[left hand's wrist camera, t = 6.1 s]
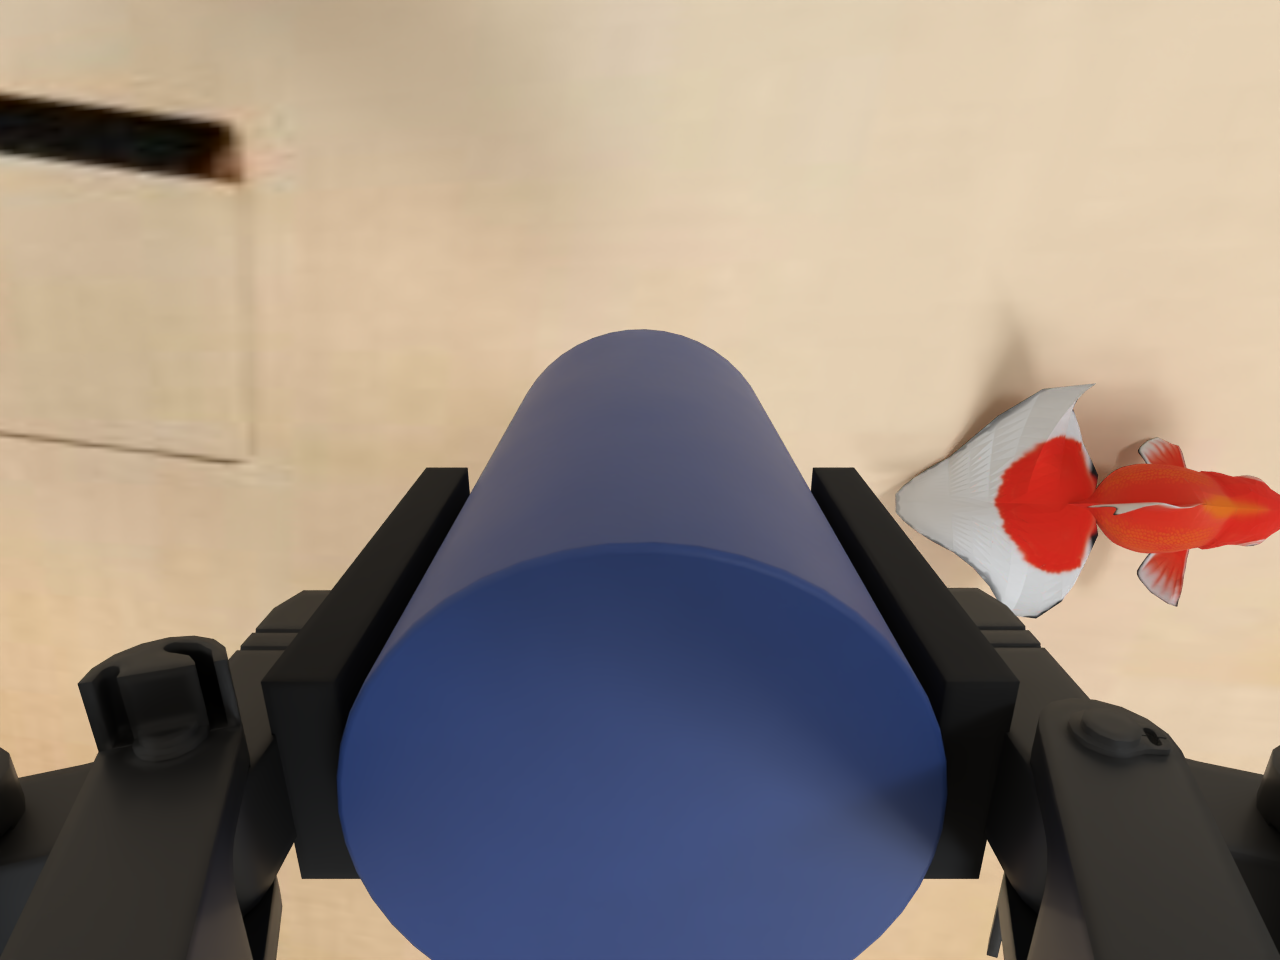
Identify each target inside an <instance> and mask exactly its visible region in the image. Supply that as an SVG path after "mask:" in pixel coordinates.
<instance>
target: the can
mask: <svg viewBox="0 0 1280 960" xmlns="http://www.w3.org/2000/svg"><path fill="white" fill-rule="evenodd" d="M337 796H338V813H339V817H340V822H341V826H342V831H343V835H344V840H345V844H346V846H347V849H348V851H349V854H350V856H351V859H352V861H353V864H354V867H355V869H356V872H357V873H358V875H359V877H360V879H361V880H362V882H363V884H364V886H365V887H366V889H367V891H368V892H369V894H370V896H371V898H372V899H373V901H374V902H375V903H376V904H377V906H378V907H379V908H380V910H381V911H382V912H383V913H384V915H385V916H386V917H387V919H388V920H389V921H390V922H391V924H392V925H393V926H394V927H395V928H396V929H397V930H398V931H399V932H400V933H401V934H402V935H403V936H404V937H405V938H406V939H407V940H408V941H409V942H410V943H411V944H412V945H413V946H415V947H416V948H417V949H418V950H420V951H421V952H422V953H423V954H425V955H426V956H427V957H429V958H430V959H431V960H853V959H855V958H856V957H857V956H858V955H859V954H861V953H862V952H863V951H864V950H865V949H866V948H868V947H869V946H870V945H871V944H872V943H873V942H874V941H876V940H877V939H878V938H879V937H880V936H881V935H882V934H883V933H884V932H885V931H886V930H887V928H888V927H889V926H890V925H891V924H892V923H893V922H894V921H895V919H896V918H897V917H898V916H899V915H900V914H901V913H902V911H903V910H904V909H905V907H906V906H907V904H908V903H909V901H910V900H911V898H912V897H913V895H914V894H915V892H916V891H917V889H918V888H919V887H920V885H921V882H922V880H923V878H924V876H925V874H926V872H927V870H928V868H929V866H930V864H931V862H932V860H933V858H934V855H935V851H936V848H937V845H938V842H939V839H940V835H941V832H942V829H943V822H944V815H945V808H946V801H947V762H946V756H945V751H944V746H943V741H942V736H941V731H940V727H939V725H938V722H937V719H936V717H935V714H934V711H933V709H932V706H931V704H930V701H929V698H928V696H927V694H926V693H925V691H924V689H923V687H922V686H921V684H920V682H919V680H918V679H917V677H916V675H915V673H914V672H913V670H912V668H911V666H910V665H909V663H908V661H907V659H906V658H905V656H904V654H903V652H902V651H901V649H900V647H899V645H898V644H897V642H896V640H895V638H894V636H893V635H892V633H891V631H890V629H889V628H888V626H887V624H886V622H885V621H884V619H883V617H882V615H881V614H880V612H879V610H878V608H877V607H876V605H875V603H874V601H873V600H872V598H871V596H870V594H869V593H868V591H867V589H866V587H865V586H864V584H863V582H862V580H861V579H860V577H859V575H858V573H857V572H856V570H855V568H854V566H853V565H852V563H851V561H850V559H849V558H848V556H847V554H846V552H845V551H844V549H843V547H842V545H841V543H840V542H839V540H838V538H837V536H836V535H835V533H834V531H833V529H832V528H831V526H830V524H829V522H828V521H827V519H826V517H825V515H824V514H823V512H822V510H821V508H820V507H819V505H818V503H817V501H816V500H815V498H814V496H813V494H812V493H811V491H810V489H809V487H808V486H807V484H806V482H805V480H804V479H803V477H802V475H801V473H800V472H799V470H798V468H797V466H796V465H795V463H794V461H793V459H792V458H791V456H790V454H789V452H788V451H787V449H786V447H785V445H784V443H783V442H782V440H781V438H780V436H779V435H778V433H777V431H776V429H775V428H774V426H773V424H772V422H771V421H770V419H769V417H768V415H767V414H766V412H765V410H764V408H763V407H762V405H761V403H760V401H759V400H758V398H757V396H756V394H755V393H754V391H753V389H752V388H751V386H750V385H749V383H748V382H747V381H746V379H745V378H744V377H743V376H742V374H741V373H740V372H739V371H738V370H737V369H736V368H735V367H734V366H733V365H732V364H731V363H730V362H729V361H728V360H726V359H725V358H724V357H722V356H721V355H719V354H718V353H717V352H715V351H714V350H712V349H710V348H709V347H707V346H705V345H703V344H701V343H699V342H697V341H695V340H692V339H690V338H687V337H684V336H682V335H678V334H674V333H669V332H665V331H657V330H647V329H643V330H625V331H618V332H612V333H608V334H605V335H601V336H598V337H595V338H592V339H590V340H588V341H585V342H583V343H581V344H579V345H577V346H575V347H574V348H572V349H570V350H569V351H567V352H566V353H564V354H562V355H561V356H560V357H559V358H557V359H556V360H555V361H554V362H553V363H552V364H550V365H549V366H548V367H547V368H546V369H545V370H544V372H543V373H542V374H541V375H540V376H539V377H538V378H537V379H536V381H535V382H534V384H533V385H532V387H531V388H530V390H529V391H528V393H527V394H526V396H525V398H524V400H523V401H522V403H521V405H520V407H519V408H518V410H517V412H516V414H515V416H514V417H513V419H512V421H511V423H510V424H509V426H508V428H507V430H506V432H505V433H504V435H503V437H502V439H501V440H500V442H499V444H498V446H497V447H496V449H495V451H494V453H493V455H492V456H491V458H490V460H489V462H488V463H487V465H486V467H485V469H484V470H483V472H482V474H481V476H480V478H479V479H478V481H477V483H476V485H475V486H474V488H473V490H472V492H471V493H470V495H469V497H468V499H467V501H466V502H465V504H464V506H463V508H462V509H461V511H460V513H459V515H458V517H457V518H456V520H455V522H454V524H453V525H452V527H451V529H450V531H449V532H448V534H447V536H446V538H445V540H444V541H443V543H442V545H441V547H440V548H439V550H438V552H437V554H436V555H435V557H434V559H433V561H432V563H431V564H430V566H429V568H428V570H427V571H426V573H425V575H424V577H423V578H422V580H421V582H420V584H419V586H418V587H417V589H416V591H415V593H414V594H413V596H412V598H411V600H410V602H409V603H408V605H407V607H406V609H405V610H404V612H403V614H402V616H401V617H400V619H399V621H398V623H397V625H396V626H395V628H394V630H393V632H392V633H391V635H390V637H389V639H388V640H387V642H386V644H385V646H384V648H383V649H382V651H381V653H380V655H379V656H378V658H377V660H376V662H375V663H374V665H373V667H372V669H371V671H370V672H369V674H368V676H367V678H366V679H365V681H364V683H363V685H362V687H361V690H360V692H359V694H358V696H357V698H356V700H355V702H354V704H353V706H352V708H351V710H350V712H349V716H348V719H347V723H346V726H345V729H344V733H343V736H342V740H341V743H340V750H339V759H338V767H337Z"/></svg>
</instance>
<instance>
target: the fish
mask: <svg viewBox="0 0 1280 960" xmlns="http://www.w3.org/2000/svg"><path fill="white" fill-rule="evenodd" d="M1093 385H1095V384H1087V385H1077V386H1067V387H1058V388H1048V389H1042V390H1041V391H1039V392H1037V393H1036V394H1034V395H1032V396H1031V397H1029V398H1027V399H1026V400H1024V401H1022V402H1020V403H1019V404H1017V405H1015V406H1014V407H1012V408H1010V409H1009V410H1007V411H1005V412H1004V413H1002V414H1000V415H999V416H997V417H996V418H995V419H994V420H993V421H992V422H990V423H989V424H988V425H987V426H986V427H984V428H983V429H982V430H981V431H980V432H978V433H977V434H976V435H975V436H974V437H973V438H971V439H970V440H969V441H968V442H967V443H965V444H964V445H963V446H962V447H961V448H959V449H958V450H957V451H956V452H955V453H953V454H952V455H951V456H950V457H949V458H947V459H945V460H943V461H941V462H939V463H937V464H935V465H934V466H932V467H930V468H928V469H927V470H925V471H924V472H922V473H921V474H919V475H918V476H916V477H914V478H913V479H912V480H911V481H909V482H908V483H907V484H905V485H904V486H903V487H902V488H901V489H900V490H899V491H898V492H897V493H896V513H897V514H898V515H899V516H900V517H901V518H902V520H903V521H904V522H906V523H907V524H908V525H909V526H911V527H912V528H913V529H914V530H916V531H917V532H919V533H920V534H922V535H923V536H925V537H927V538H928V539H930V540H931V541H933V542H935V543H937V544H939V545H940V546H942V547H944V548H946V549H948V550H950V551H952V552H954V553H955V554H956V555H958V556H959V557H960V558H961V559H963V560H964V561H965V562H967V563H968V564H969V565H970V566H972V567H973V568H974V569H975V570H976V572H977V573H978V574H979V575H980V576H981V577H982V578H983V579H984V581H985V582H986V583H987V584H988V585H989V586H990V588H991V590H992V592H993V593H994V595H995V597H996V599H997V600H998V601H1000V602H1002V603H1003V604H1005V605H1007V606H1008V607H1009V608H1010V610H1011V611H1012V612H1013V613H1014V614H1015V615H1016V616H1021V617H1029V618H1037V617H1039V616H1040V615H1042V614H1043V613H1045V612H1046V611H1048V610H1049V609H1051V608H1052V607H1054V606H1055V605H1057V604H1058V603H1060V602H1061V601H1062V600H1063V599H1064V597H1065V596H1066V595H1067V593H1068V592H1069V591H1070V589H1071V588H1072V587H1073V585H1074V584H1075V582H1076V580H1077V578H1078V576H1079V574H1080V572H1081V570H1082V568H1083V566H1084V564H1085V562H1086V560H1087V558H1088V556H1089V554H1090V551H1091V549H1092V547H1093V545H1094V543H1095V541H1096V538H1097V536H1098V531H1097V525H1098V526H1099V527H1100V529H1101V530H1102V531H1103V533H1104V534H1105V535H1106V536H1107V537H1108V538H1109V539H1110V540H1111V541H1112V542H1113V543H1115V544H1117V545H1119V546H1121V547H1124V548H1126V549H1129V550H1132V551H1135V552H1140V553H1149V555H1148V556H1147V557H1146V558H1145V560H1144V561H1143V562H1142V564H1141V565H1140V567H1139V568H1138V570H1137V575H1138V577H1139V579H1140V580H1141V582H1142V583H1143V584H1144V585H1145V586H1146V587H1147V589H1148V590H1149V591H1150V592H1151V593H1152V594H1154V595H1156V596H1157V597H1159V598H1160V599H1162V600H1163V601H1165V602H1166V603H1168V604H1171V605H1173V606H1177V605H1178V600H1179V597H1180V595H1181V591H1182V586H1183V579H1184V573H1185V569H1186V561H1187V556H1188V552H1189V549H1192V548H1200V549H1210V548H1215V547H1219V546H1223V545H1241V546H1254V545H1257V544H1260V543H1262V542H1263V541H1264V540H1265V539H1266V538H1267V537H1269V536H1270V535H1271V534H1273V533H1275V532H1276V531H1278V530H1280V495H1279V494H1278V493H1276V492H1275V491H1273V490H1271V489H1270V488H1269V487H1268V486H1267V485H1266V484H1265V483H1264V482H1263V481H1262V480H1261V479H1259V478H1257V477H1253V476H1247V475H1246V476H1236V477H1232V476H1228V475H1225V474H1221V473H1217V472H1206V471H1201V472H1197V471H1194V470H1190V469H1187V468H1186V465H1185V461H1184V457H1183V454H1182V451H1181V449H1180V447H1179V446H1177V445H1174V444H1171V443H1169V442H1167V441H1165V440H1163V439H1160V438H1158V437H1156V438H1154V439H1151V440H1148V441H1147V442H1145V443H1144V444H1143V445H1142V446H1141V447H1140V448H1139V450H1138V453H1139V454H1140V455H1141V456H1142V458H1143V459H1144V461H1145V462H1146V464H1135V465H1130V466H1125V467H1122V468H1119V469H1117V470H1115V471H1114V472H1112V473H1111V474H1110V475H1109V476H1107V477H1106V478H1105V479H1104V480H1103V481H1102V482H1101V483H1100V484H1099V486H1098V487H1097V488H1096V485H1097V479H1098V474H1097V472H1096V470H1095V467H1094V465H1093V463H1092V461H1091V459H1090V456H1089V454H1088V452H1087V450H1086V448H1085V446H1084V444H1083V441H1082V436H1081V432H1080V428H1079V425H1078V422H1077V419H1076V416H1075V413H1074V411H1073V407H1074V405H1075V403H1076V402H1077V400H1078V398H1079V397H1080V396H1081V395H1082V394H1083V393H1084V392H1085V391H1086V390H1088V389H1089V388H1090V387H1092V386H1093ZM1096 523H1097V525H1096Z"/></svg>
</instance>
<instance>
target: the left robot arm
mask: <svg viewBox="0 0 1280 960" xmlns="http://www.w3.org/2000/svg"><path fill="white" fill-rule="evenodd" d="M811 493H812V494H813V496H814V498H815V500H816V501H817V503H818V505H819V507H820V508H821V510H822V512H823V514H824V515H825V517H826V519H827V521H828V522H829V524H830V526H831V528H832V529H833V531H834V533H835V535H836V536H837V538H838V540H839V542H840V543H841V545H842V547H843V549H844V551H845V552H846V554H847V556H848V558H849V559H850V561H851V563H852V565H853V566H854V568H855V570H856V572H857V573H858V575H859V577H860V579H861V580H862V582H863V584H864V586H865V587H866V589H867V591H868V593H869V594H870V596H871V598H872V600H873V601H874V603H875V605H876V607H877V608H878V610H879V612H880V614H881V615H882V617H883V619H884V621H885V622H886V624H887V626H888V628H889V629H890V631H891V633H892V635H893V636H894V638H895V640H896V642H897V644H898V645H899V647H900V649H901V651H902V652H903V654H904V656H905V658H906V659H907V661H908V663H909V665H910V666H911V668H912V670H913V672H914V673H915V675H916V677H917V679H918V680H919V682H920V684H921V686H922V687H923V689H924V691H925V693H926V694H927V696H928V698H929V701H930V704H931V706H932V709H933V711H934V714H935V717H936V719H937V722H938V725H939V727H940V731H941V736H942V741H943V746H944V751H945V756H946V762H947V801H946V808H945V815H944V822H943V829H942V832H941V835H940V839H939V842H938V845H937V848H936V851H935V855H934V858H933V860H932V862H931V864H930V866H929V868H928V870H927V872H926V874H925V876H924V878H923V879H979V875H980V870H981V865H982V861H983V856H984V851H985V846H986V842H987V840H988V842H989V844H990V846H991V848H992V849H993V851H994V853H995V855H996V857H997V859H998V861H999V862H1000V864H1001V866H1002V868H1003V870H1004V875H1003V879H1002V884H1001V888H1000V893H999V897H998V902H997V906H996V911H995V915H994V919H993V924H992V928H991V933H990V937H989V943H988V950H987V955H989V956H992V957H996V958H997V957H998V953H999V949H1000V944H1001V941H1002V945H1003V954H1004V960H1280V745H1279V746H1278V747H1276V748H1275V749H1273V751H1272V754H1271V756H1270V759H1269V762H1268V765H1267V767H1266V770H1265V773H1264V775H1262V774H1257V773H1252V772H1247V771H1242V770H1237V769H1232V768H1227V767H1223V766H1218V765H1213V764H1208V763H1203V762H1198V761H1194V760H1190V759H1187V758H1185V757H1184V755H1183V753H1182V751H1181V750H1180V748H1179V747H1178V746H1177V744H1176V743H1175V742H1174V741H1173V739H1172V738H1171V737H1170V736H1169V734H1167V733H1166V732H1165V731H1163V730H1162V729H1161V728H1159V727H1158V726H1156V725H1155V724H1154V723H1152V722H1151V721H1149V720H1148V719H1146V718H1144V717H1142V716H1140V715H1138V714H1136V713H1133V712H1131V711H1129V710H1127V709H1125V708H1123V707H1120V706H1116V705H1112V704H1109V703H1105V702H1101V701H1097V700H1090V699H1089V697H1088V696H1087V695H1086V694H1085V693H1084V692H1083V691H1082V690H1081V688H1080V687H1079V686H1078V685H1077V684H1076V683H1075V682H1074V681H1073V679H1072V678H1071V677H1070V676H1069V675H1068V674H1067V673H1066V672H1065V670H1064V669H1063V668H1062V667H1061V666H1060V665H1059V664H1058V663H1057V661H1056V660H1055V659H1054V658H1053V657H1052V656H1051V655H1050V654H1049V652H1048V651H1047V650H1046V649H1045V648H1041V646H1040V642H1039V641H1038V640H1037V639H1036V638H1035V637H1034V635H1033V634H1032V633H1031V632H1030V631H1029V630H1025V625H1024V624H1023V623H1022V622H1021V621H1020V620H1019V619H1018V617H1017V616H1016V615H1015V614H1014V613H1013V612H1012V611H1011V610H1010V608H1009V607H1008V606H1007V605H1005V604H1003V603H1002V602H1000V601H998V600H997V599H995V598H993V597H992V596H990V595H988V594H987V593H985V592H983V591H982V590H980V589H978V588H947V587H946V586H945V584H944V583H943V582H942V580H941V579H940V578H939V577H938V575H937V574H936V573H935V571H934V570H933V569H932V568H931V566H930V565H929V564H928V562H927V561H926V560H925V559H924V557H923V556H922V555H921V553H920V552H919V551H918V550H917V548H916V547H915V546H914V544H913V543H912V542H911V540H910V539H909V538H908V537H907V535H906V534H905V533H904V531H903V530H902V529H901V528H900V526H899V525H898V524H897V522H896V521H895V520H894V519H893V517H892V516H891V515H890V513H889V512H888V511H887V510H886V508H885V507H884V506H883V504H882V503H881V502H880V501H879V499H878V498H877V497H876V495H875V494H874V493H873V492H872V490H871V489H870V488H869V486H868V485H867V484H866V482H865V481H864V480H863V479H862V477H861V476H860V475H859V473H858V472H857V471H856V470H855V468H813V473H812V485H811ZM469 495H470V490H469V479H468V468H426V469H425V470H424V472H423V473H422V474H421V475H420V477H419V478H418V479H417V481H416V482H415V483H414V484H413V486H412V487H411V488H410V490H409V491H408V492H407V493H406V495H405V496H404V497H403V499H402V500H401V501H400V502H399V504H398V505H397V506H396V508H395V509H394V510H393V512H392V513H391V514H390V515H389V517H388V518H387V519H386V521H385V522H384V523H383V524H382V526H381V527H380V528H379V530H378V531H377V532H376V533H375V535H374V536H373V537H372V539H371V540H370V541H369V542H368V544H367V545H366V546H365V548H364V549H363V550H362V551H361V553H360V554H359V555H358V557H357V558H356V559H355V561H354V562H353V563H352V564H351V566H350V567H349V568H348V570H347V571H346V572H345V573H344V575H343V576H342V577H341V579H340V580H339V581H338V582H337V584H336V585H335V586H334V588H333V589H332V590H303V591H302V592H300V593H298V594H297V595H295V596H293V597H292V598H290V599H288V600H287V601H285V602H283V603H282V604H280V605H278V606H277V607H275V608H274V609H273V610H272V611H271V612H270V613H269V614H268V616H267V617H266V618H265V619H264V620H263V621H262V622H261V624H260V625H259V626H258V627H257V628H256V633H252V634H251V635H250V636H249V637H248V638H247V639H246V641H245V642H244V643H243V644H242V645H241V649H240V650H237V651H236V652H235V653H234V654H233V655H232V656H231V658H230V659H229V660H228V657H227V653H226V648H225V647H224V646H223V645H221V644H220V643H219V642H217V641H216V640H214V639H210V638H205V637H199V636H182V637H169V638H164V639H160V640H156V641H152V642H147V643H143V644H140V645H137V646H135V647H132V648H130V649H127V650H125V651H122V652H120V653H117V654H115V655H113V656H111V657H110V658H108V659H107V660H105V661H103V662H102V663H100V664H99V665H97V666H95V667H94V668H92V669H91V670H90V671H89V672H88V673H87V674H86V675H85V676H84V678H83V679H82V680H81V681H80V682H79V683H78V687H79V690H80V693H81V697H82V700H83V703H84V706H85V709H86V713H87V716H88V719H89V722H90V725H91V729H92V732H93V735H94V738H95V742H96V745H97V748H98V751H99V752H98V754H97V756H96V758H95V761H94V762H92V763H88V764H84V765H79V766H74V767H70V768H65V769H60V770H55V771H50V772H45V773H40V774H35V775H31V776H26V777H21V778H18V776H17V774H16V771H15V768H14V765H13V763H12V760H11V757H10V754H9V753H8V752H6V751H5V750H3V749H2V748H0V960H276V956H277V947H278V939H279V930H280V922H281V914H282V901H281V894H280V888H279V884H278V879H277V873H278V871H279V869H280V867H281V866H282V864H283V862H284V860H285V858H286V856H287V854H288V852H289V851H290V849H291V847H292V845H293V843H294V844H295V848H296V853H297V858H298V863H299V868H300V872H301V877H302V879H360V877H359V875H358V873H357V872H356V869H355V867H354V864H353V861H352V859H351V856H350V854H349V851H348V849H347V846H346V844H345V840H344V835H343V831H342V826H341V822H340V817H339V813H338V796H337V767H338V759H339V750H340V743H341V740H342V736H343V733H344V729H345V726H346V723H347V719H348V716H349V712H350V710H351V708H352V706H353V704H354V702H355V700H356V698H357V696H358V694H359V692H360V690H361V687H362V685H363V683H364V681H365V679H366V678H367V676H368V674H369V672H370V671H371V669H372V667H373V665H374V663H375V662H376V660H377V658H378V656H379V655H380V653H381V651H382V649H383V648H384V646H385V644H386V642H387V640H388V639H389V637H390V635H391V633H392V632H393V630H394V628H395V626H396V625H397V623H398V621H399V619H400V617H401V616H402V614H403V612H404V610H405V609H406V607H407V605H408V603H409V602H410V600H411V598H412V596H413V594H414V593H415V591H416V589H417V587H418V586H419V584H420V582H421V580H422V578H423V577H424V575H425V573H426V571H427V570H428V568H429V566H430V564H431V563H432V561H433V559H434V557H435V555H436V554H437V552H438V550H439V548H440V547H441V545H442V543H443V541H444V540H445V538H446V536H447V534H448V532H449V531H450V529H451V527H452V525H453V524H454V522H455V520H456V518H457V517H458V515H459V513H460V511H461V509H462V508H463V506H464V504H465V502H466V501H467V499H468V497H469Z"/></svg>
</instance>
